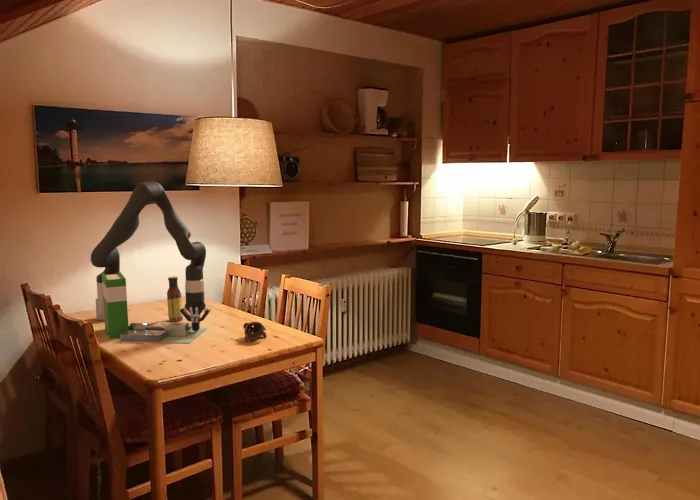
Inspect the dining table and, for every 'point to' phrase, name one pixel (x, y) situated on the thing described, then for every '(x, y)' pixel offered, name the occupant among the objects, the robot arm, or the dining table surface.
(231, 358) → the dining table surface
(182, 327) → the pale grey flat block
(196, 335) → the mat
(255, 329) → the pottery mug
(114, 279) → the hardback book
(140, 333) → the grey stepped block
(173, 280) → the sauce bottle
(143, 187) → the robot arm
